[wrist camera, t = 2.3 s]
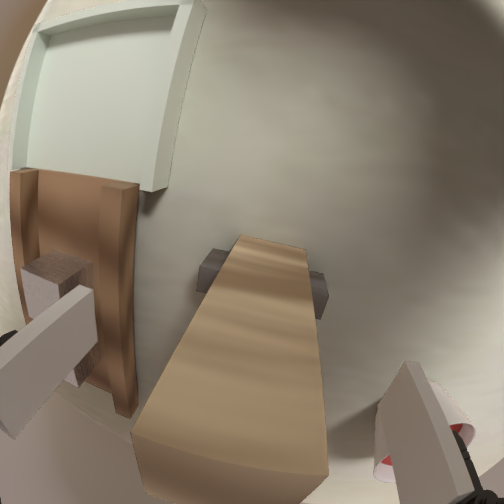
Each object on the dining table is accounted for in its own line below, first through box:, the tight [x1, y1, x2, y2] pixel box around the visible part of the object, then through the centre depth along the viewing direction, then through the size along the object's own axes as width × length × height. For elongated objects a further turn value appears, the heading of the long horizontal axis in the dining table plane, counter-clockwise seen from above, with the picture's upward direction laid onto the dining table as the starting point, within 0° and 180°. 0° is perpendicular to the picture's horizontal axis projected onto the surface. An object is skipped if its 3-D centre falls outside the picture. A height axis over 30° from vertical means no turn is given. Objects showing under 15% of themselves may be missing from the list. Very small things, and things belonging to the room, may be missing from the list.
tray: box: [7, 0, 207, 192], centre depth 14 cm, size 12×14×2 cm
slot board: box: [10, 168, 140, 419], centre depth 19 cm, size 20×11×3 cm, turn 168°
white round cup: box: [373, 381, 476, 483], centre depth 18 cm, size 9×9×6 cm
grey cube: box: [20, 250, 95, 319], centre depth 17 cm, size 4×4×4 cm
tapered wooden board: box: [130, 235, 329, 504], centre depth 12 cm, size 4×7×14 cm, turn 79°
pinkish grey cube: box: [64, 324, 101, 388], centre depth 19 cm, size 4×4×4 cm
